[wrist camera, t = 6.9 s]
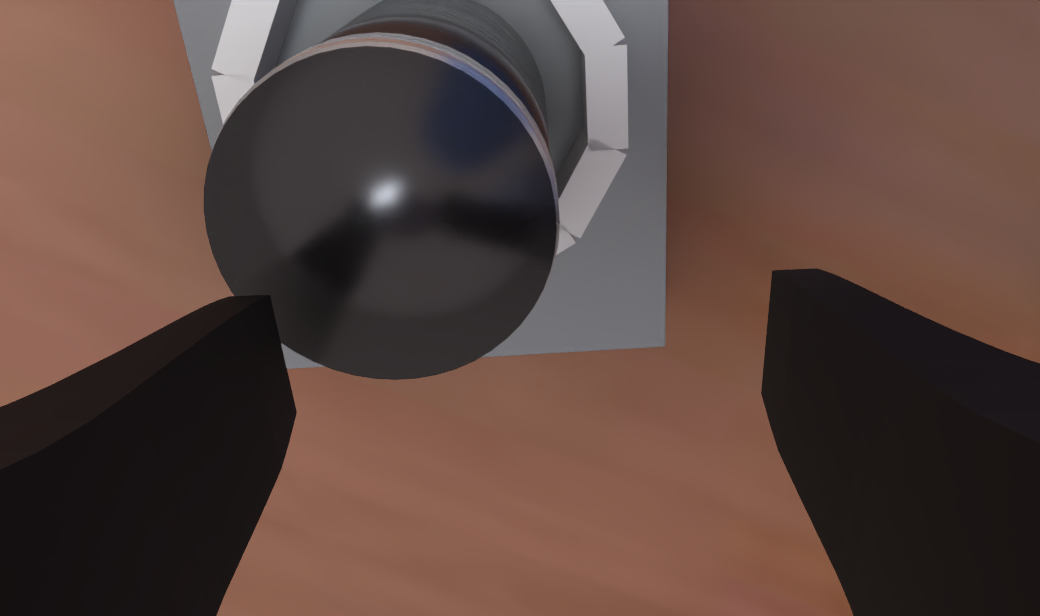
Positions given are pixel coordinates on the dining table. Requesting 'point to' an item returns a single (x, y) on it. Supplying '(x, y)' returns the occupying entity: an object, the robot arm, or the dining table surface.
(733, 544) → the dining table surface
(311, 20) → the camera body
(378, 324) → the lens
